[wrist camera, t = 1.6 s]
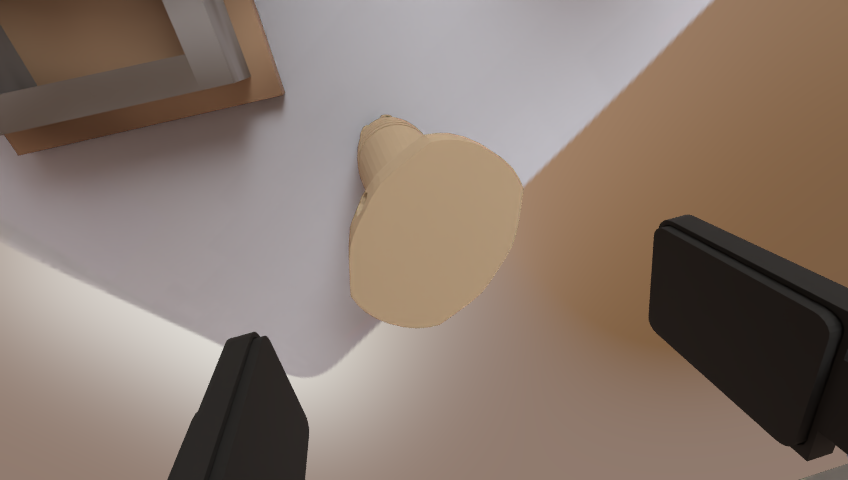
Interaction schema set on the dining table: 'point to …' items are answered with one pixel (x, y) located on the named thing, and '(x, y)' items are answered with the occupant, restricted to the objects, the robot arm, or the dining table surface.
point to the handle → (428, 222)
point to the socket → (125, 65)
